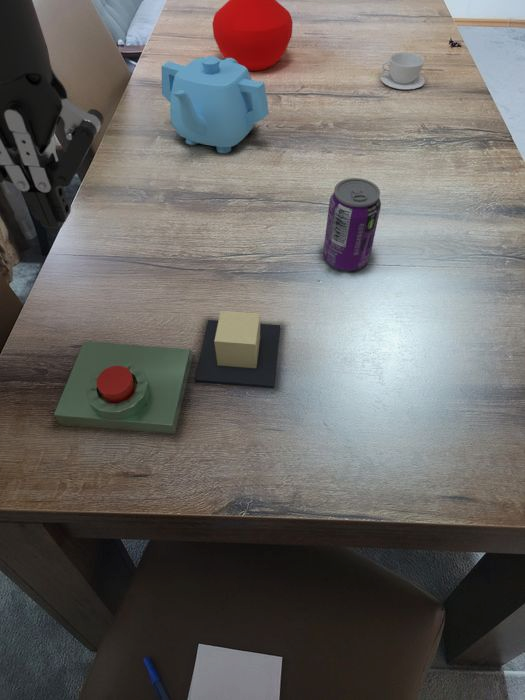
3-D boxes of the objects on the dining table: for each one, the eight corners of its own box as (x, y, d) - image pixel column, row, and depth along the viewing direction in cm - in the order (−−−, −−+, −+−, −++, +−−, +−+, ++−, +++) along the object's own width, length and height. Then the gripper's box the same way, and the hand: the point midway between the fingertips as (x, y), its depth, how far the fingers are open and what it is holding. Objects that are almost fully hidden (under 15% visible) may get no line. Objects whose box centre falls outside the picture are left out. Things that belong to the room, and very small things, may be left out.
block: (217, 365, 63) (214, 341, 59) (223, 335, 66) (220, 310, 62) (256, 368, 62) (255, 344, 58) (260, 338, 65) (260, 313, 62)
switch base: (59, 424, 58) (47, 407, 55) (88, 351, 65) (79, 332, 62) (175, 434, 57) (169, 417, 54) (192, 359, 64) (188, 340, 61)
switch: (95, 401, 56) (91, 392, 55) (106, 372, 59) (102, 364, 57) (130, 404, 56) (126, 395, 54) (138, 375, 58) (135, 366, 57)
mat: (195, 382, 62) (194, 379, 61) (208, 322, 68) (208, 319, 68) (274, 388, 61) (274, 385, 61) (280, 327, 67) (280, 324, 67)
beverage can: (374, 271, 74) (390, 204, 65) (329, 276, 73) (338, 209, 64) (361, 240, 78) (374, 173, 69) (318, 245, 78) (325, 178, 68)
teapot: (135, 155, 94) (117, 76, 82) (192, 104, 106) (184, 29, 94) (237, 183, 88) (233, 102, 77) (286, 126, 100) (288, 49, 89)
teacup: (423, 73, 114) (429, 51, 111) (424, 93, 108) (430, 70, 105) (380, 70, 115) (384, 48, 112) (379, 89, 110) (383, 67, 106)
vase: (266, 40, 126) (265, -53, 111) (306, 67, 116) (311, -31, 101) (202, 57, 120) (193, -40, 105) (238, 86, 111) (234, -15, 96)
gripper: (-195, -3, 27) (-38, 246, 40) (41, 4, 26) (119, 256, 39) (-116, -45, 31) (1, 191, 45) (86, -40, 30) (142, 199, 44)
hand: (56, 221), depth 42 cm, fingers closed
